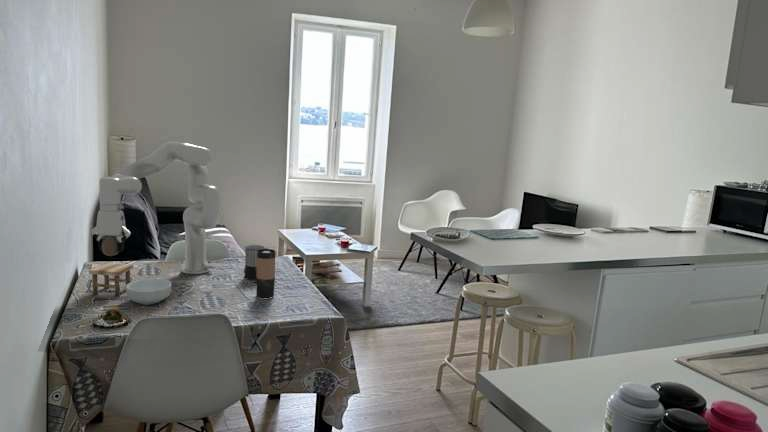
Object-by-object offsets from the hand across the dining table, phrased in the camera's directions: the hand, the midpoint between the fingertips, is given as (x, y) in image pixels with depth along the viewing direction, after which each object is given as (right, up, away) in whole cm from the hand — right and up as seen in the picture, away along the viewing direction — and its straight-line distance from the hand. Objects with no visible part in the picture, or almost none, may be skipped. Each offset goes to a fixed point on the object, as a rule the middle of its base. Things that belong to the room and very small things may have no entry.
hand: (111, 250), depth 220 cm
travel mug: (+61, -21, +10) cm, 65 cm away
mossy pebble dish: (+15, -24, -29) cm, 41 cm away
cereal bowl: (+18, -20, -5) cm, 27 cm away
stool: (-1, -17, +3) cm, 18 cm away
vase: (0, -2, 0) cm, 2 cm away
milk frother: (+48, -15, +41) cm, 65 cm away
